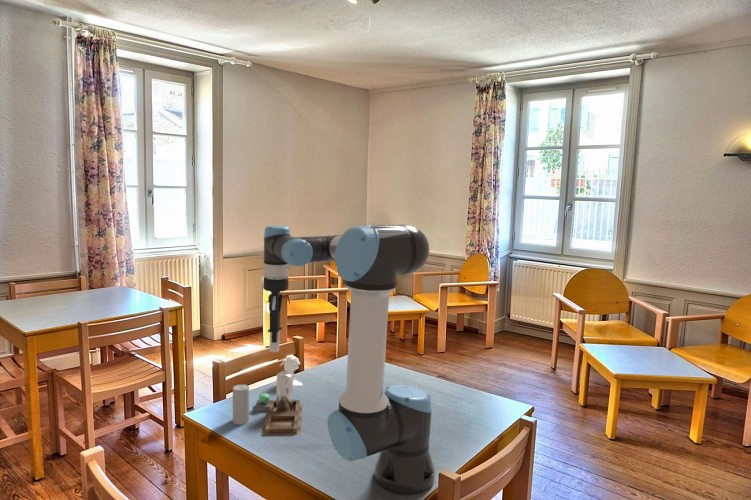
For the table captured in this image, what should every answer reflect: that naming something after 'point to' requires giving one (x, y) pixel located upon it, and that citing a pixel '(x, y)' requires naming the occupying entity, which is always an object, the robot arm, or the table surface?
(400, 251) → the robot arm
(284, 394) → the billet
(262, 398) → the button
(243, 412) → the beverage can
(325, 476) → the table surface
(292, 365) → the figurine
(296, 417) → the pallet
